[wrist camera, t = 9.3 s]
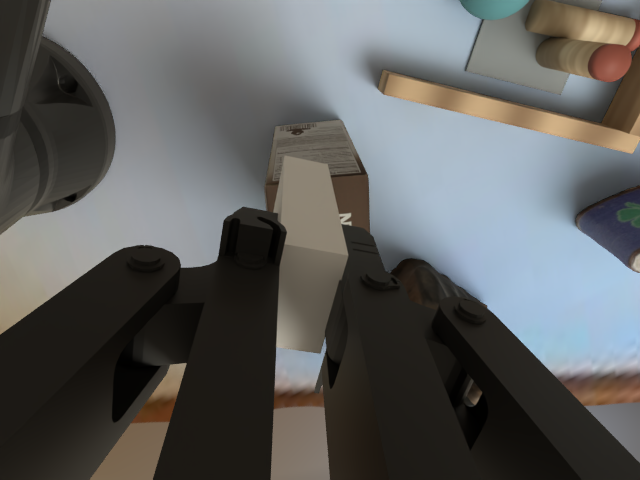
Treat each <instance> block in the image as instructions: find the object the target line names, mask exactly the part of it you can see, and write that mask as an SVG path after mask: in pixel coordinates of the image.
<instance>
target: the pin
mask: <svg viewBox="0 0 640 480" xmlns="http://www.w3.org/2000/svg"><path fill="white" fill-rule="evenodd" d="M536 60H537V63H538V64H539V65H540V66H542V67H544V68H549V69H553V70H557V71H562V72H566V73H570V74H575V75H579V76H583V77H587V78H592V79H596V80H600V81H605V82H613V81H616V80H618V79H620V78H621V77H622V76H624V75H625V73H626V72H627V71H628V69H629V67H630V65H631V61H632V55H631V52H630V50H629V49H628V48H627V47H626V46H624V45H620V44H611V43H601V42H592V41H583V40H574V39H564V38H555V37H551V38H548V39H546V40H544V41H543V42H542V43H541V44H540V45H539V47H538V48H537V51H536Z"/></svg>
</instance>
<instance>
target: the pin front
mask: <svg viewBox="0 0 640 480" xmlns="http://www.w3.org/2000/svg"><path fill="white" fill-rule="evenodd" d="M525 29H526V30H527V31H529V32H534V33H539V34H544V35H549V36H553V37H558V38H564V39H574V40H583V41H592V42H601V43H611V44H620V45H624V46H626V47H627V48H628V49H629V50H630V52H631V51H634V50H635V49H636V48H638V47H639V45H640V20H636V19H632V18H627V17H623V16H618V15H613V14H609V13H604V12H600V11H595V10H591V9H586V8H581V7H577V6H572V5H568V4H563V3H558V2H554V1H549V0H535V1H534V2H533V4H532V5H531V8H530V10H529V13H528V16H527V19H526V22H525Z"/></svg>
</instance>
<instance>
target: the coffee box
mask: <svg viewBox="0 0 640 480" xmlns="http://www.w3.org/2000/svg"><path fill="white" fill-rule="evenodd" d="M284 156H290V157H295V158H300V159H305V160H309V161H314V162H319V163H324V164H328V168H329V172H330V177H331V181H332V185H333V190H334V194H335V198H336V203H337V207H338V212H339V216H340V220H341V224H345V225H350V226H356V227H361V228H364V229H365V230H366V231H367V232H368V233H369V234H370V220H369V182H368V174H367V172H366V170H365V168H364V166H363V164H362V162H361V160H360V157H359V155H358V153H357V151H356V149H355V147H354V145H353V142H352V140H351V138H350V136H349V134H348V132H347V130H346V127H345V125H344V123H343V121H342V120H332V121H322V122H311V123H301V124H291V125H282V126H276V127H275V131H274V136H273V143H272V149H271V154H270V159H269V164H268V170H267V176H266V181H265V187H264V190H265V201H266V210H267V211H269V212H273V211H274V206H275V201H276V196H277V191H278V186H279V181H280V176H281V171H282V166H283V161H284Z"/></svg>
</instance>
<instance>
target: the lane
mask: <svg viewBox="0 0 640 480" xmlns="http://www.w3.org/2000/svg"><path fill="white" fill-rule="evenodd" d="M378 90H379V91H380V92H382V93H383V94H384V95H388V96H392V97H396V98H400V99H404V100H409V101H413V102H417V103H421V104H425V105H430V106H434V107H438V108H442V109H446V110H451V111H455V112H459V113H463V114H467V115H472V116H476V117H480V118H484V119H488V120H493V121H497V122H501V123H505V124H509V125H514V126H518V127H522V128H526V129H530V130H535V131H539V132H543V133H547V134H551V135H556V136H560V137H564V138H568V139H572V140H577V141H581V142H585V143H589V144H593V145H597V146H602V147H606V148H610V149H614V150H618V151H623V152H627V153H631V154H633V152H634V150H635V148H636V146H637V144H638V143H639V141H640V45H639V47H638V49H637V51H636V53H635V55H634V57H633V59H632V61H631V65H630V67H629V69H628V71H627V72H626V74H625V76H624V78H623V80H622V82H621V84H620V86H619V88H618V90H617V92H616V94H615V96H614V98H613V100H612V102H611V104H610V106H609V108H608V110H607V112H606V114H605V116H604V118H603V120H602V122H601V123H597V122H593V121H589V120H585V119H581V118H577V117H572V116H568V115H564V114H560V113H556V112H552V111H548V110H544V109H540V108H536V107H532V106H528V105H524V104H520V103H516V102H512V101H508V100H504V99H499V98H495V97H491V96H487V95H483V94H479V93H475V92H471V91H467V90H463V89H459V88H455V87H451V86H447V85H443V84H439V83H435V82H430V81H426V80H422V79H418V78H414V77H410V76H406V75H402V74H398V73H394V72H390V71H386V70H383V71H382V75H381V79H380V82H379V86H378Z"/></svg>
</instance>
